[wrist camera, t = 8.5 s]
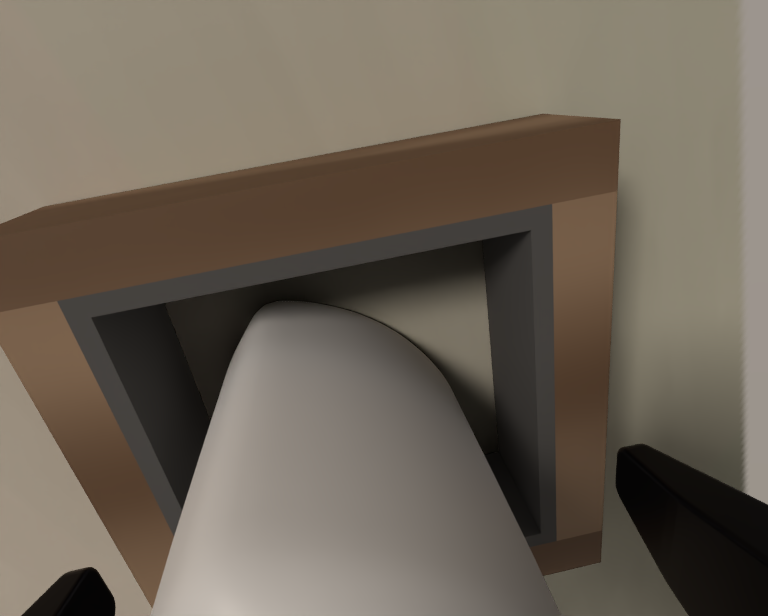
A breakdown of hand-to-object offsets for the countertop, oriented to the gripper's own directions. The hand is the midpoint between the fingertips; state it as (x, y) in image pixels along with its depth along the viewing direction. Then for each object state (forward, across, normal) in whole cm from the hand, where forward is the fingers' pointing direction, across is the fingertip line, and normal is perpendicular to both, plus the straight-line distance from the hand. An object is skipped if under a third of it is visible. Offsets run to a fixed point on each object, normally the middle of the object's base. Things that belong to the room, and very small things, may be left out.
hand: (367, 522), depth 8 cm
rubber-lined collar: (+5, 0, 0) cm, 5 cm away
